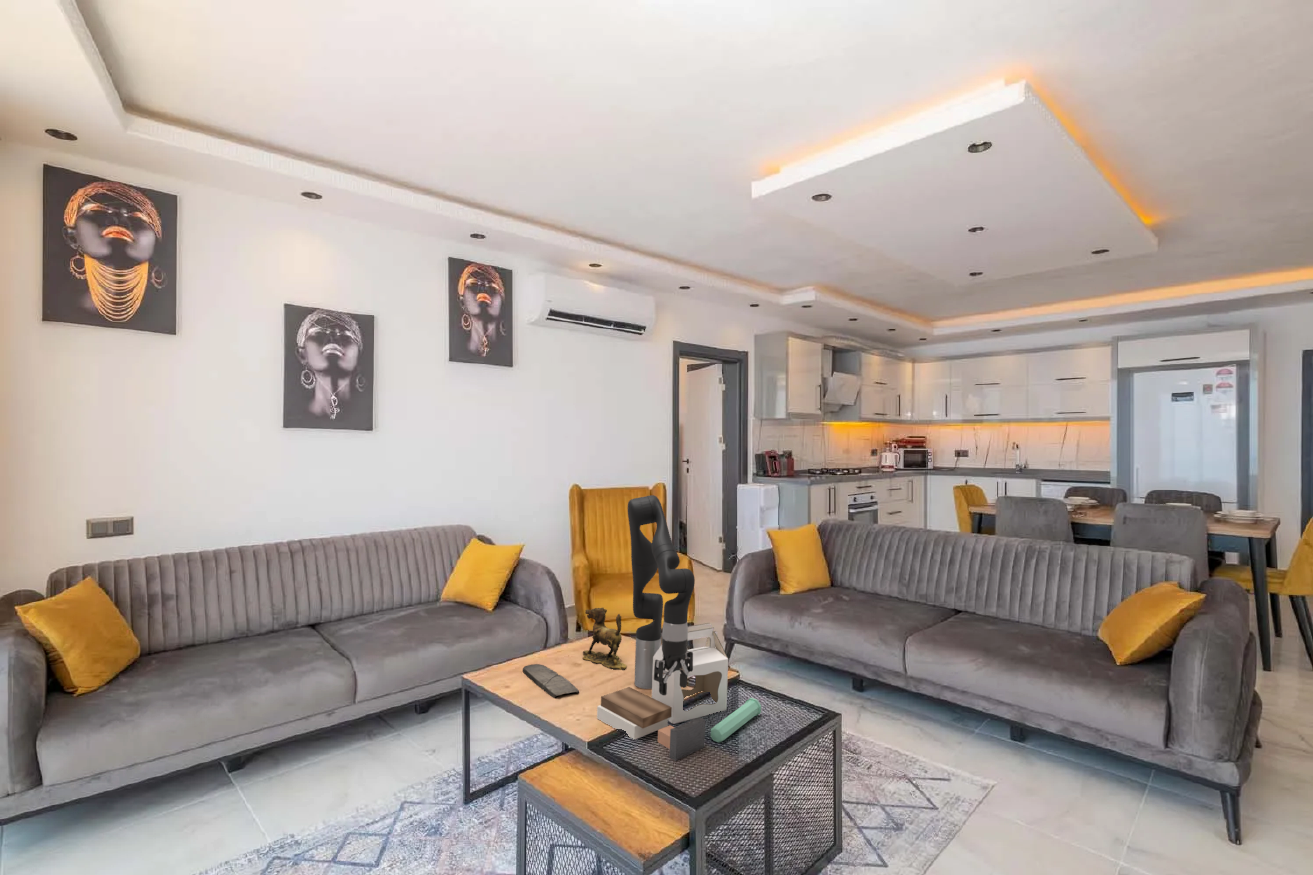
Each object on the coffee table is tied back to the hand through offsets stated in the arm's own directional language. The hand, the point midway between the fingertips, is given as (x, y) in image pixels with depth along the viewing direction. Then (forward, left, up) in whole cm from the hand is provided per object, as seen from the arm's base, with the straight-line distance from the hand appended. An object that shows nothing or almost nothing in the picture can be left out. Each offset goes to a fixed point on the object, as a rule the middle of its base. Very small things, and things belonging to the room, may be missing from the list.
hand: (673, 690), depth 186 cm
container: (-23, +6, -16) cm, 28 cm away
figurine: (-27, -64, -16) cm, 72 cm away
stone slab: (+2, -61, -16) cm, 63 cm away
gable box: (-21, -12, -16) cm, 29 cm away
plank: (0, -16, -12) cm, 20 cm away
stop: (0, +7, -16) cm, 17 cm away
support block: (0, 0, -16) cm, 16 cm away
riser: (0, -17, -16) cm, 24 cm away
